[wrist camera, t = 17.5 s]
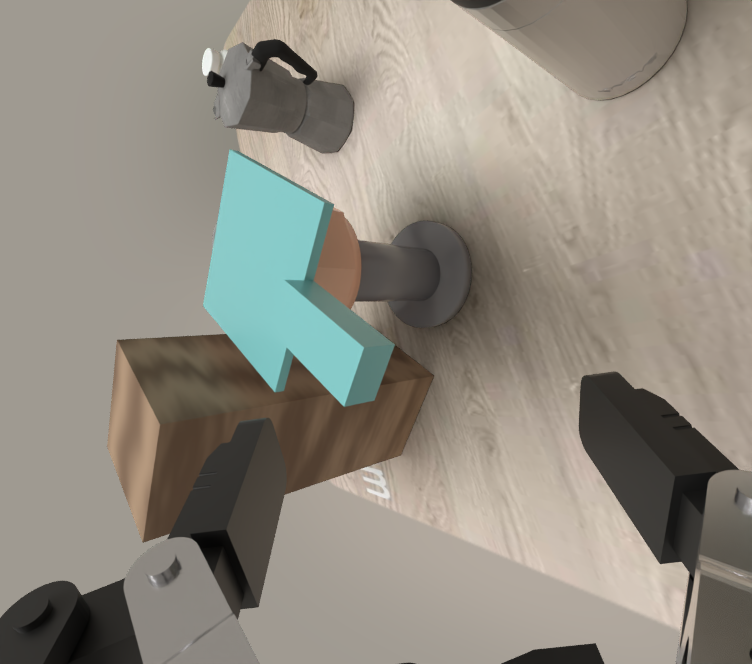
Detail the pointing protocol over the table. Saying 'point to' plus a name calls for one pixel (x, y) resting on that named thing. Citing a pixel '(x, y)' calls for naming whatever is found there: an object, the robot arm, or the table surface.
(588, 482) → the table surface
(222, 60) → the pill bottle
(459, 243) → the bowl
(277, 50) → the coffeepot
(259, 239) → the cover
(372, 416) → the wooden block
